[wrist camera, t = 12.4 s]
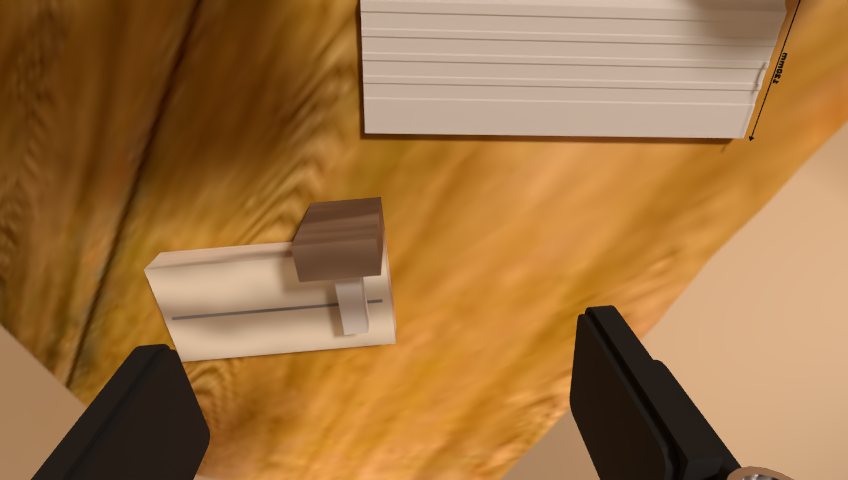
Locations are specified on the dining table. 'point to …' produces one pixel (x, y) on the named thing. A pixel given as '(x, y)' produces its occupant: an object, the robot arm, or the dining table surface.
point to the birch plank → (258, 303)
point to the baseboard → (567, 66)
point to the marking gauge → (342, 253)
